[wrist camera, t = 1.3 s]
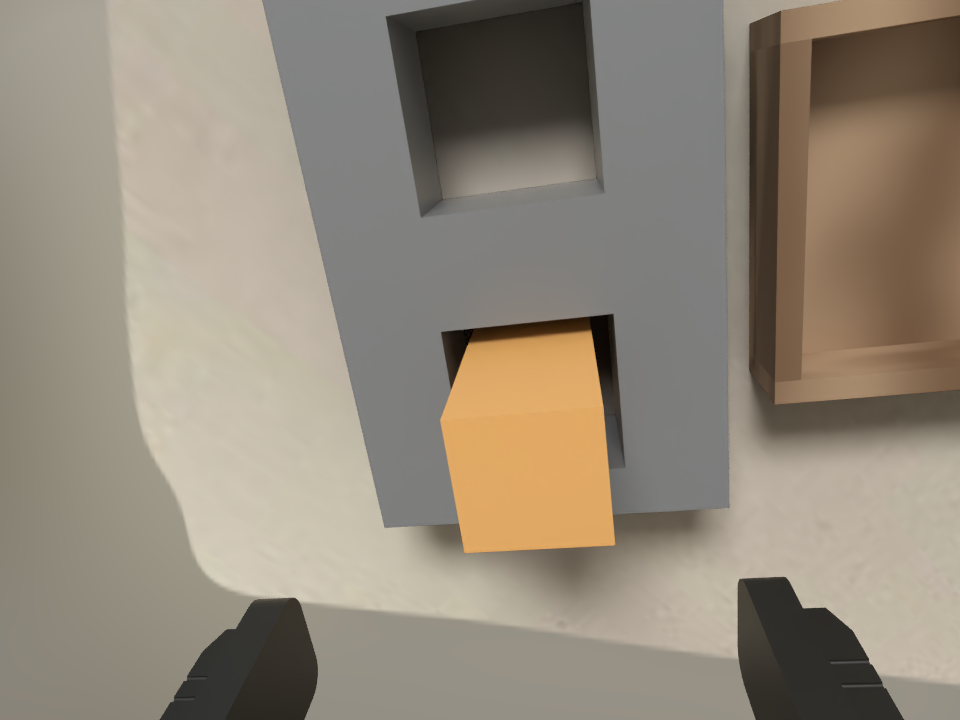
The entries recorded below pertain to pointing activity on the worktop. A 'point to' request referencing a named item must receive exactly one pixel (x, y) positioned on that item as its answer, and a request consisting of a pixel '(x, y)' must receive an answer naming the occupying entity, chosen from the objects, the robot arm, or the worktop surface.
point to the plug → (529, 439)
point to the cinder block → (522, 237)
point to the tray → (855, 200)
